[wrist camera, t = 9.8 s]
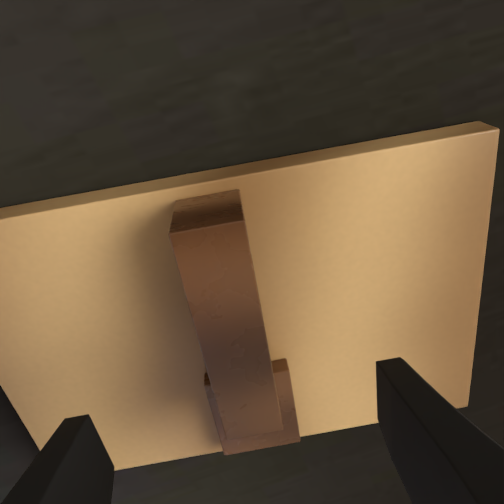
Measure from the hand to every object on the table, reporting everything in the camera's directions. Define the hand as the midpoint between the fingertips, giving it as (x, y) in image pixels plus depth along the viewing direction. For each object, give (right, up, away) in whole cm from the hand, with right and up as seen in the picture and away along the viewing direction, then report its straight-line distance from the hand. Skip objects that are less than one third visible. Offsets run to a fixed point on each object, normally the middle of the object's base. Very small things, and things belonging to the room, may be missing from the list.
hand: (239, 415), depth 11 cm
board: (0, +2, +6) cm, 6 cm away
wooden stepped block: (0, +1, +5) cm, 5 cm away
